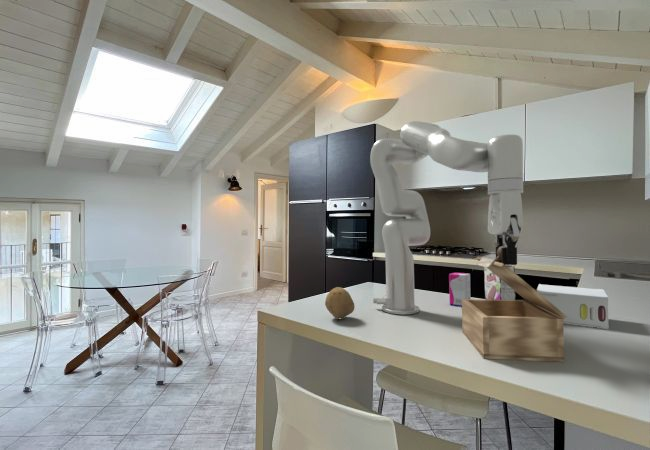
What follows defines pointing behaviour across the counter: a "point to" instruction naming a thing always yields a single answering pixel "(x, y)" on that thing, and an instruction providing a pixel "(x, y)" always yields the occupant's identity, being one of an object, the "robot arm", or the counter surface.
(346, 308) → the brown potato
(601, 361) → the counter surface
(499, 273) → the wooden box lid
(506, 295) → the candy bar box
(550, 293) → the supplement box
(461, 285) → the supplement box
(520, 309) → the wooden box
